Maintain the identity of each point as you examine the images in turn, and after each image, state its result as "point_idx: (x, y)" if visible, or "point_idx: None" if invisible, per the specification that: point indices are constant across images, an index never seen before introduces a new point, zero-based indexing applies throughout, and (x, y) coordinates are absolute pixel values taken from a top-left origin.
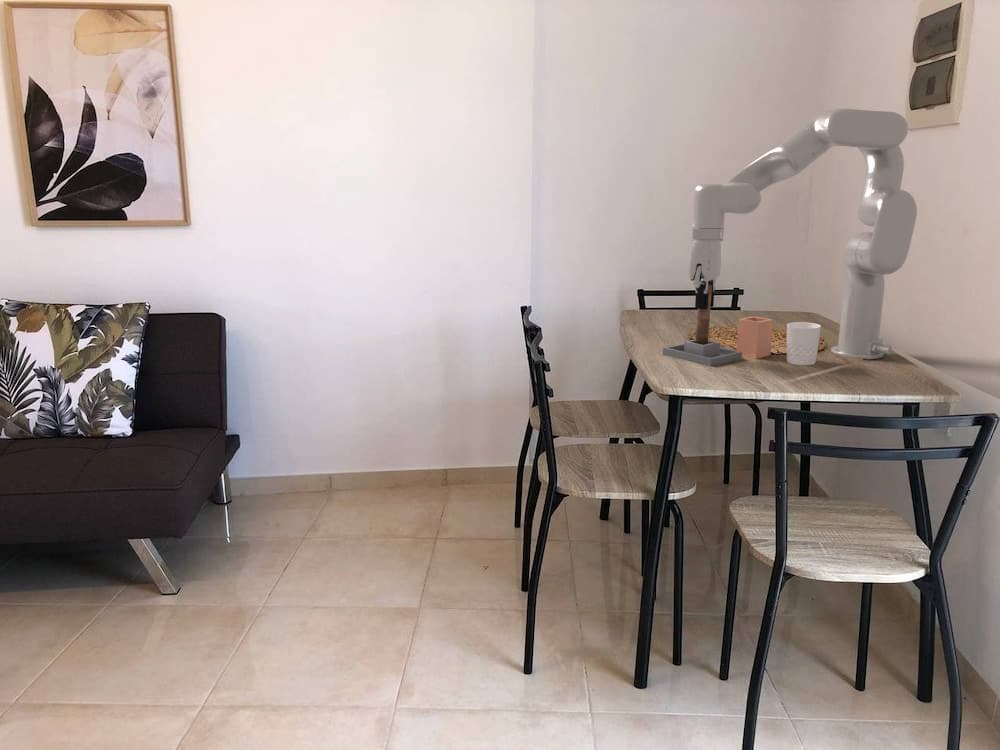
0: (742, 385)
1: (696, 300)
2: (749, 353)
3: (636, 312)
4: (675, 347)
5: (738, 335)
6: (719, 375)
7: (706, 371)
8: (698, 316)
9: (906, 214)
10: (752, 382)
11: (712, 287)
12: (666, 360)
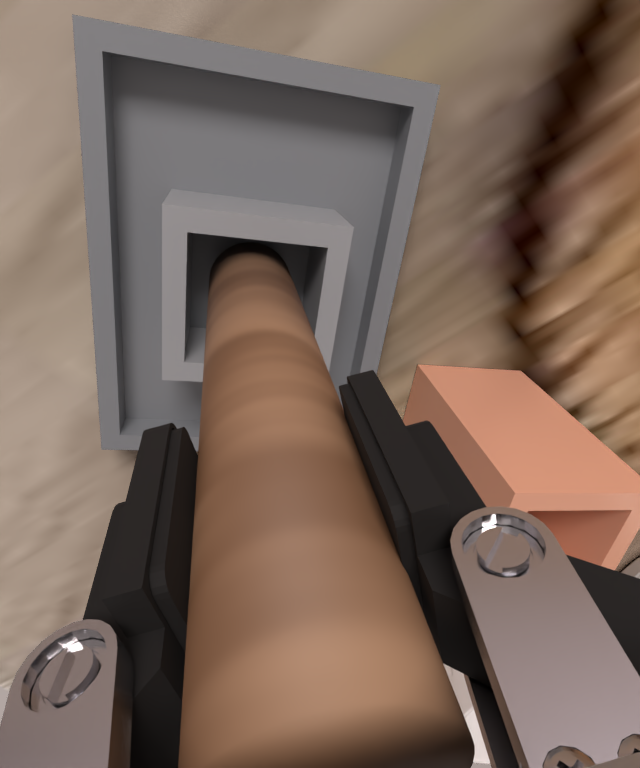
0: (12, 623)
1: (136, 505)
2: None
3: None
4: (204, 70)
5: (462, 427)
6: (50, 508)
7: (52, 438)
8: (204, 386)
9: None
10: (82, 618)
11: (474, 706)
12: (34, 125)
